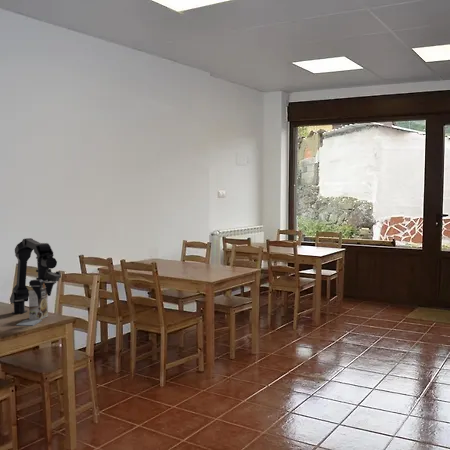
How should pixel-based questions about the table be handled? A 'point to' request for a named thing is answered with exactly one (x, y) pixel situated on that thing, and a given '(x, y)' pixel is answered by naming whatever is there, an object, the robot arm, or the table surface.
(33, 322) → the mat
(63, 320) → the table surface
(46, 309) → the coffee box
